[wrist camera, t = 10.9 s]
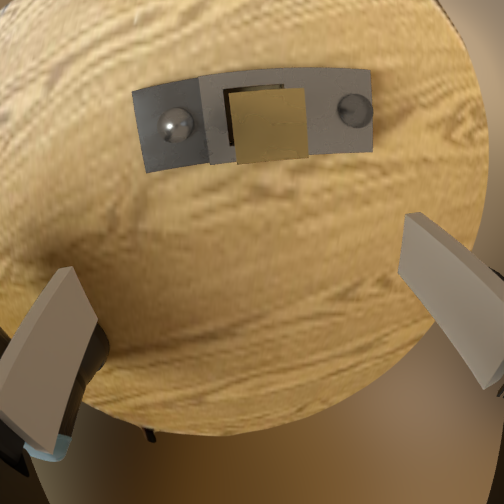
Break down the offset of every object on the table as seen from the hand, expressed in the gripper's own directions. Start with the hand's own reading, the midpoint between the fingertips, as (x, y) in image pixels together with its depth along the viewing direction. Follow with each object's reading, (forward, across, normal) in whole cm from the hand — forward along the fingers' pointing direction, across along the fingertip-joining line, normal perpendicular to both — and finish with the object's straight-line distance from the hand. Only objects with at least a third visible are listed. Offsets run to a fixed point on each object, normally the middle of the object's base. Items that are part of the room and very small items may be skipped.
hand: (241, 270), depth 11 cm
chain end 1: (+22, -1, +4) cm, 23 cm away
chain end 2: (+22, +7, +4) cm, 24 cm away
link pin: (+22, +3, +4) cm, 23 cm away
